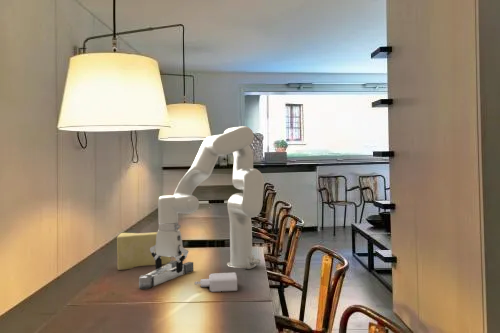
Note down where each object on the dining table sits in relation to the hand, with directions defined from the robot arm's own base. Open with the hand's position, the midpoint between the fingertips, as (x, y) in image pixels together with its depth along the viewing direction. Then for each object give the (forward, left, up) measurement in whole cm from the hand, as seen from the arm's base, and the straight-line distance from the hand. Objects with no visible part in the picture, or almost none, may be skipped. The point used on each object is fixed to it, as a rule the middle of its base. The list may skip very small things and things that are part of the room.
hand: (168, 270), depth 164 cm
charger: (-23, +4, -4) cm, 23 cm away
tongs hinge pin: (0, +15, -2) cm, 15 cm away
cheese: (+21, -12, -4) cm, 25 cm away
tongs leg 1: (+3, +1, -2) cm, 4 cm away
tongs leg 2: (-3, +1, -2) cm, 4 cm away
